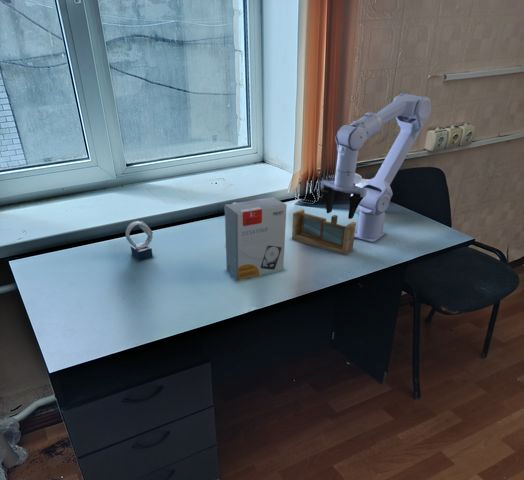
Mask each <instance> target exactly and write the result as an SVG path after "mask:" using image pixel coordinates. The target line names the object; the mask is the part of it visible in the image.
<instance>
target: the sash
mask: <svg viewBox="0 0 524 480" xmlns="http://www.w3.org/2000/svg"><path fill="white" fill-rule="evenodd" d="M338 217H339V216H338V215H337V214H333V215H331V219H330V221H327V220H326V221H321V229H320V241H323V242H326V243H330V244H333V245H337V246H340V247H343V240H344V231H345V226H346V225H342V224H338Z"/></svg>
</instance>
